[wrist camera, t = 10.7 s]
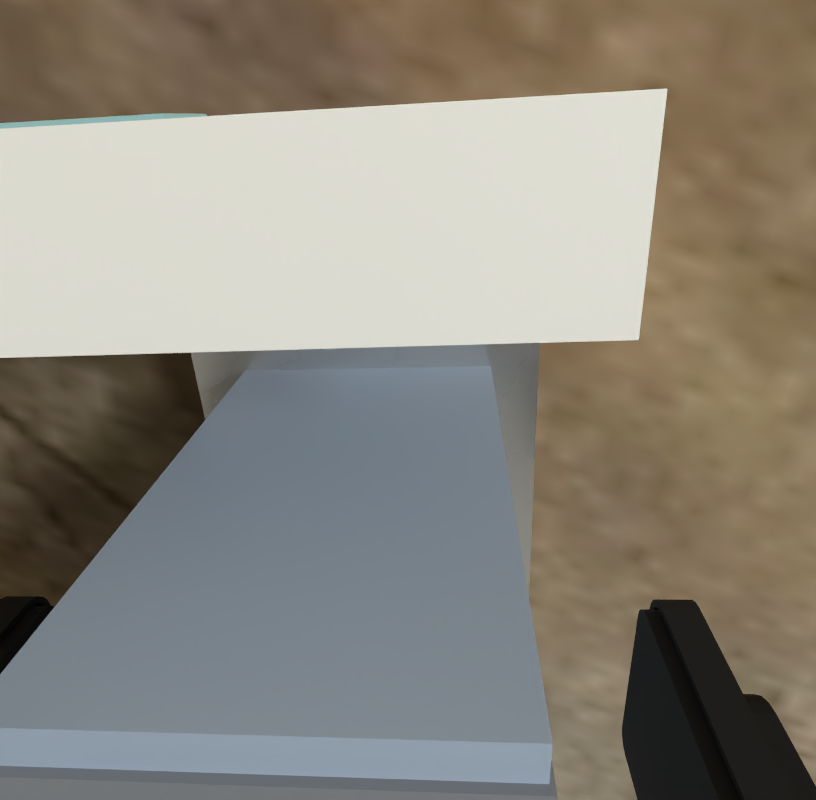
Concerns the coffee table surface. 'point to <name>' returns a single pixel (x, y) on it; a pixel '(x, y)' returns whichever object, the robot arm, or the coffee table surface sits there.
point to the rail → (507, 361)
